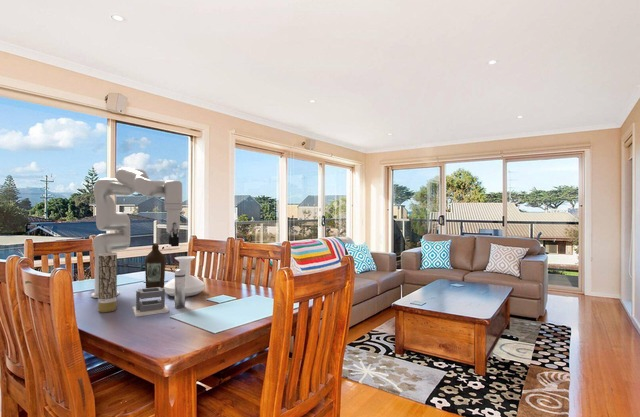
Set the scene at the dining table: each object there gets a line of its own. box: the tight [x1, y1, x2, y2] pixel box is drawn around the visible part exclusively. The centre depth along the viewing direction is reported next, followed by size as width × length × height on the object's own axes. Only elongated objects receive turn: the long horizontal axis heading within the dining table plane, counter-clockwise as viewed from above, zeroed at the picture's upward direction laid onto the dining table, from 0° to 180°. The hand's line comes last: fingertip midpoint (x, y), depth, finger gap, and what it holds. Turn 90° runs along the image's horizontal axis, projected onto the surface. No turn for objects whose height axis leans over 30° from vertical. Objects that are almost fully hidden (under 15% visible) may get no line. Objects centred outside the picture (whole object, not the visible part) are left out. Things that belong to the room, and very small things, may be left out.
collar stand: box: [132, 287, 170, 317], centre depth 157 cm, size 13×13×9 cm
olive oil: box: [144, 242, 167, 288], centre depth 201 cm, size 11×11×25 cm
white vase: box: [164, 255, 206, 298], centre depth 186 cm, size 20×20×19 cm
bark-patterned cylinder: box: [97, 252, 118, 313], centre depth 156 cm, size 7×7×25 cm
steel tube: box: [174, 268, 186, 309], centre depth 162 cm, size 4×4×17 cm
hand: (173, 245), depth 162 cm, fingers open, 9 cm apart
